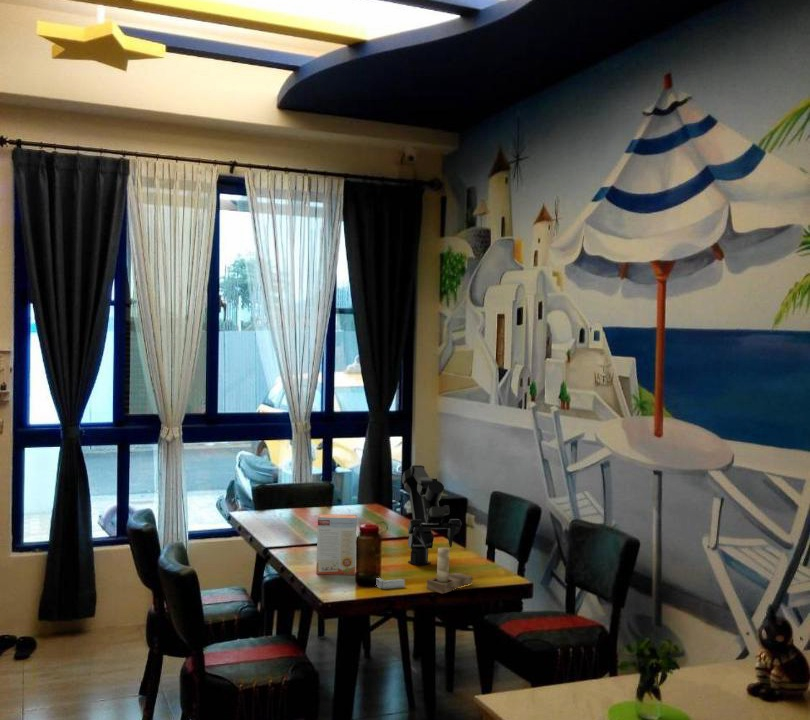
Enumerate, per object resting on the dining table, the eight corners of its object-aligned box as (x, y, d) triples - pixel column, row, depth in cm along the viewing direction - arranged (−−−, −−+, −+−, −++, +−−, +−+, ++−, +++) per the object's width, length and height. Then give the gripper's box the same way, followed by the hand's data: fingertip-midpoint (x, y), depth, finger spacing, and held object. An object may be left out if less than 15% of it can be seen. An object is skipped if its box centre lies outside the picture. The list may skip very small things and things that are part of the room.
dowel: (441, 586, 298) (443, 546, 298) (450, 589, 295) (451, 549, 295) (433, 588, 295) (435, 548, 295) (442, 591, 293) (444, 550, 292)
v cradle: (372, 581, 301) (372, 574, 301) (405, 586, 297) (405, 579, 297) (365, 586, 295) (365, 579, 295) (398, 591, 291) (399, 584, 290)
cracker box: (355, 571, 314) (357, 514, 313) (354, 575, 308) (357, 517, 307) (316, 570, 313) (319, 513, 313) (315, 574, 307) (317, 516, 307)
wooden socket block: (456, 580, 307) (456, 572, 306) (471, 585, 302) (472, 576, 302) (426, 588, 295) (427, 580, 295) (442, 593, 290) (442, 584, 290)
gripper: (411, 496, 305) (416, 534, 294) (461, 496, 309) (469, 534, 298) (405, 514, 313) (410, 552, 302) (454, 514, 317) (461, 551, 306)
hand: (438, 547), depth 302 cm, fingers open, 9 cm apart
